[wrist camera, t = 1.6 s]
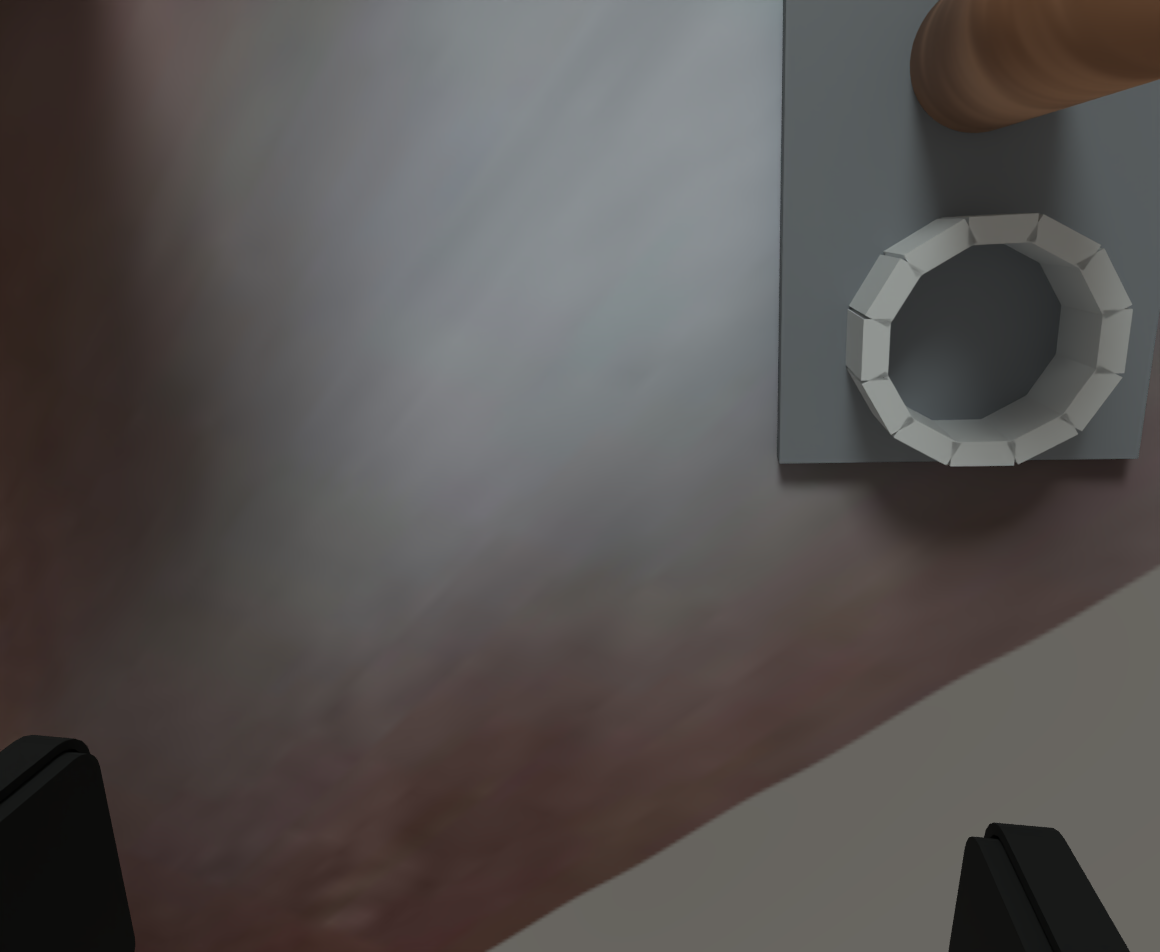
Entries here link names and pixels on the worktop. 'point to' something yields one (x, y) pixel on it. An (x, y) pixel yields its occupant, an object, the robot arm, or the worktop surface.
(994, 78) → the rail post
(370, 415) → the worktop surface
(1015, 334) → the bracket board
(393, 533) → the worktop surface
